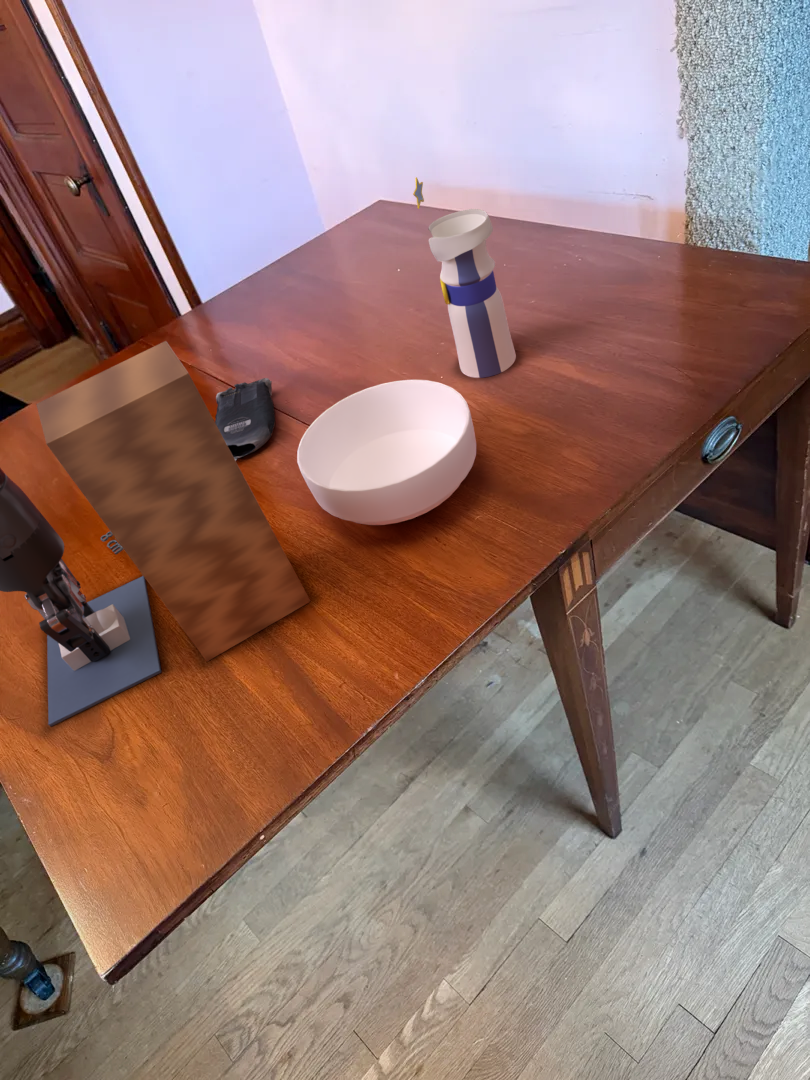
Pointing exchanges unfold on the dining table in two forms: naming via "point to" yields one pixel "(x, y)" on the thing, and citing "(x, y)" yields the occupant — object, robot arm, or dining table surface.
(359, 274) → the dining table surface
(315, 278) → the dining table surface
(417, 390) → the bowl
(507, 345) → the water bottle
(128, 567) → the dining table surface
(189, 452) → the block
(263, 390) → the electronic device
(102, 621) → the white boxy piece
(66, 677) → the mouse pad
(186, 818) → the dining table surface
